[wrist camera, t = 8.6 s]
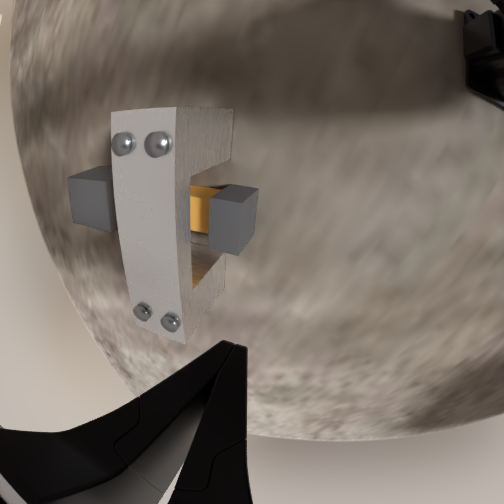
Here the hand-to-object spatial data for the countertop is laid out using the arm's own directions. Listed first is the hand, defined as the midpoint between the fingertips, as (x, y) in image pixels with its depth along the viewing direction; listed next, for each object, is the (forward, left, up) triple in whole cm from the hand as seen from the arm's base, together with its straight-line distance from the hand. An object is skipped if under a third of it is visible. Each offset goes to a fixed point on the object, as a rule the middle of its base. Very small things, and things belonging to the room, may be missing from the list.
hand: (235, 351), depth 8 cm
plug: (+10, 0, -12) cm, 16 cm away
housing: (+7, 0, -12) cm, 14 cm away
